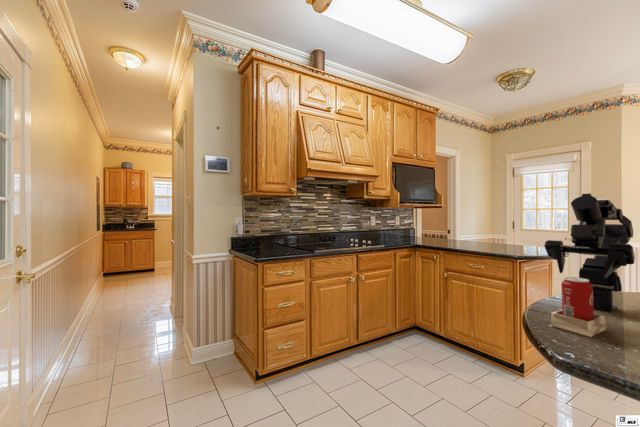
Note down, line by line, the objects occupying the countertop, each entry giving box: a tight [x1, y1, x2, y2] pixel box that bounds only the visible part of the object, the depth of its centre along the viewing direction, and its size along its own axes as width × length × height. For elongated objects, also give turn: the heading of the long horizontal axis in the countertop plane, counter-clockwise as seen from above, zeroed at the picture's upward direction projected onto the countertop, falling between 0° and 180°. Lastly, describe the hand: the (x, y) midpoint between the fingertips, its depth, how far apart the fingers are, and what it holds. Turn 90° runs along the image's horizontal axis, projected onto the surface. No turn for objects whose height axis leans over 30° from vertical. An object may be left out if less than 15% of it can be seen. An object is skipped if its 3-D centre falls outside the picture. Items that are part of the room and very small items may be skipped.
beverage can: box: [561, 276, 595, 322], centre depth 78 cm, size 6×6×12 cm
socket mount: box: [550, 308, 606, 338], centre depth 78 cm, size 8×8×4 cm
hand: (581, 274), depth 81 cm, fingers open, 9 cm apart
